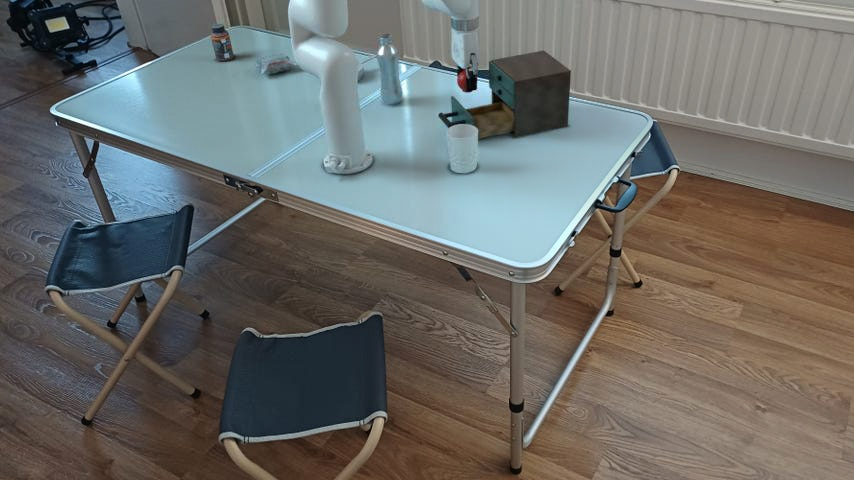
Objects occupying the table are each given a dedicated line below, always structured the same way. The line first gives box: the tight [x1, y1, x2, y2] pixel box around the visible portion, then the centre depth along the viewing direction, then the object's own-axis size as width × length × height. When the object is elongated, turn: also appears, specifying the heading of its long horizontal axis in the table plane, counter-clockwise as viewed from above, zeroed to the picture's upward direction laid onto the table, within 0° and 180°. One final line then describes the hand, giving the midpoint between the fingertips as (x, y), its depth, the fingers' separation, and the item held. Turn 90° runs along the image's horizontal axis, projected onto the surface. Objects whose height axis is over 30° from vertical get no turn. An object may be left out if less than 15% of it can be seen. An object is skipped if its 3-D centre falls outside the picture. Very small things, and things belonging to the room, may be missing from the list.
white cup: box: [445, 124, 479, 174], centre depth 181 cm, size 8×8×10 cm
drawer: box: [437, 95, 514, 140], centre depth 197 cm, size 21×15×8 cm
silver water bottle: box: [376, 33, 404, 105], centre depth 210 cm, size 6×7×20 cm
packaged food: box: [254, 53, 298, 76], centre depth 237 cm, size 9×12×5 cm
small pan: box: [358, 54, 377, 81], centre depth 233 cm, size 11×18×4 cm, turn 136°
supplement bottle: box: [210, 23, 235, 62], centre depth 245 cm, size 6×6×11 cm
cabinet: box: [488, 50, 572, 138], centre depth 199 cm, size 18×16×16 cm
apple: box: [456, 69, 473, 94], centre depth 205 cm, size 6×6×7 cm
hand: (467, 85), depth 207 cm, fingers closed on apple, 5 cm apart
